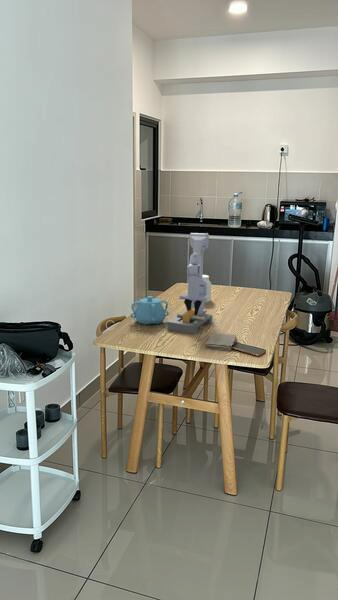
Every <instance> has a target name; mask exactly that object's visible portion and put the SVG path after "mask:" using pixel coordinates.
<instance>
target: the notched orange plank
mask: <svg viewBox="0 0 338 600" xmlns="http://www.w3.org/2000/svg"><path fill="white" fill-rule="evenodd" d="M184 312H185V311H184ZM192 315H193V316H198V314H197V315H195V309H194V308H192V309H190V310H189V311H187V312H185V313H184V314H183V320H182V322H187V323H191V321H190V318H192Z"/></svg>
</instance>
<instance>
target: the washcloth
mask: <svg viewBox="0 0 338 600" xmlns="http://www.w3.org/2000/svg"><path fill="white" fill-rule="evenodd" d="M236 340H237V334H231V333H228V334H225V333H217V332H215V333H214V332H213V333H211V335H210V336H209V338H208V339H207V340H206V343H205V349H211V350H217V351H218V350H219V351H226V352H227V351H228V352H229V351H231V350H232V349H233V348H232V345H233V343H234V344H235V343H236ZM231 348H232V349H231Z"/></svg>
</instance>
